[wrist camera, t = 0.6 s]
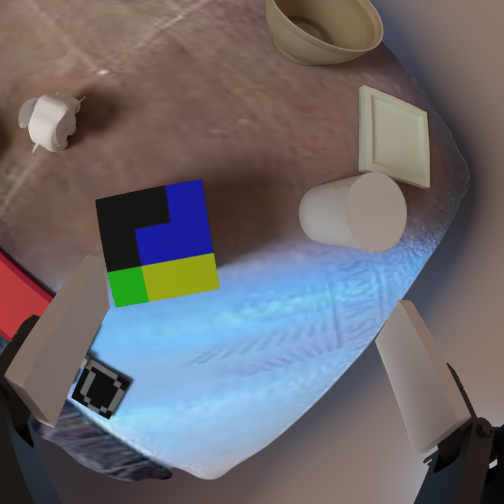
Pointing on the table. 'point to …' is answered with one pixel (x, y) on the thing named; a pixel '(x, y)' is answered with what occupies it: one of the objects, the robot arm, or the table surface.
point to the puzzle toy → (157, 243)
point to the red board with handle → (35, 302)
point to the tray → (393, 138)
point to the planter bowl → (323, 29)
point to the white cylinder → (355, 212)
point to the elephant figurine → (50, 120)
